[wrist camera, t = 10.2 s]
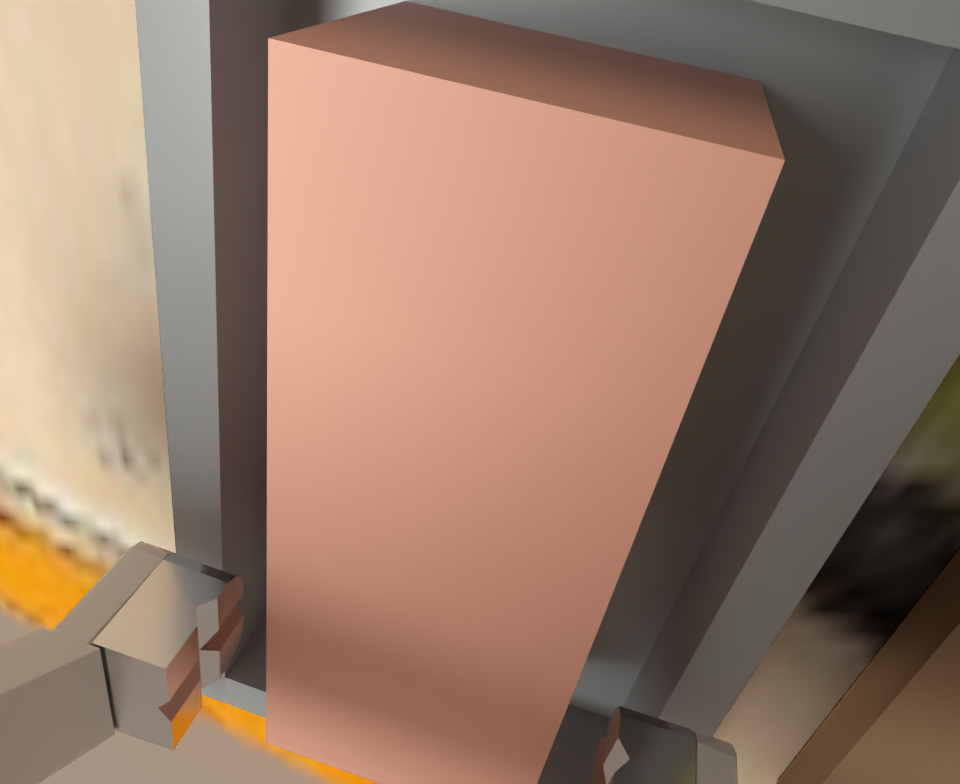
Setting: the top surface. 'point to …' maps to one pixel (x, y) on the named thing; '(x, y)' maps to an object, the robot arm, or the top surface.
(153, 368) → the top surface
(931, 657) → the brown slab
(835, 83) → the tray
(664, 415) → the salmon pink rectangular prism
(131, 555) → the robot arm
